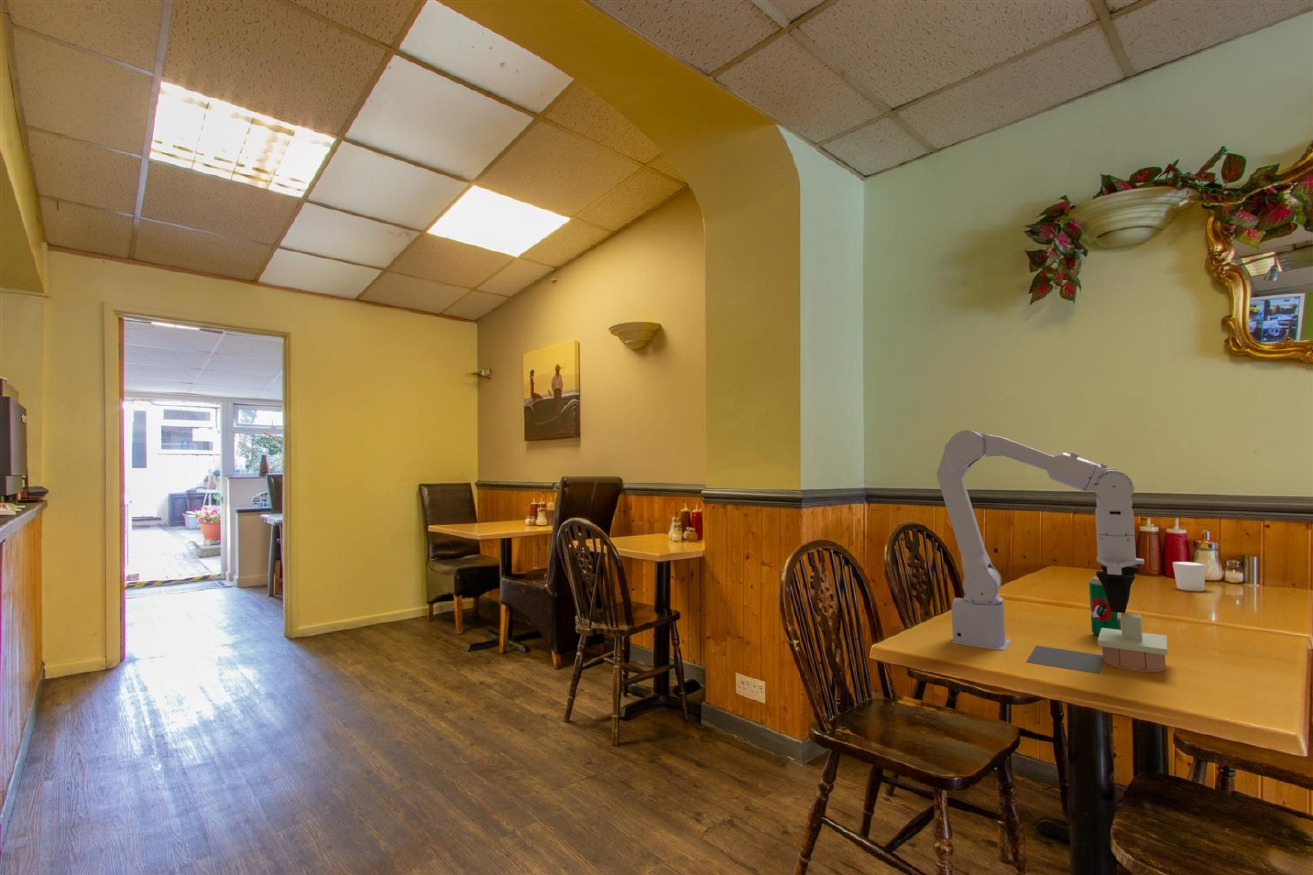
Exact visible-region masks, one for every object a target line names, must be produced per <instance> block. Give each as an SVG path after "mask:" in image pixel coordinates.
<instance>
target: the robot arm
mask: <svg viewBox="0 0 1313 875" xmlns="http://www.w3.org/2000/svg"><path fill="white" fill-rule="evenodd" d="M984 456H985V457H986V458H989V457H1000V456H1001V457H1006V458H1009V459H1012V460H1015V461H1018V462H1021V463H1024V464H1026V465H1029V466H1033V467H1035V468H1039V469H1042V470H1045V471H1046V472H1047V475H1048V477H1049V478H1050V480H1052V481H1054V482H1057V483H1060V484H1063V485H1065V486H1068V487H1071V488H1073V489H1077V490H1079V491H1082V492H1084V493H1089V492H1094V493H1095V494H1096V496H1095V497H1096V498H1095V500H1096V501H1095V502H1096V508H1095V511H1094V514H1095V531H1096V548H1097V549H1096V551H1097V556H1096V561H1097V563H1100V564H1101V565H1100V568H1101V569H1102V571H1101V570H1097V571H1096V577H1098V579H1099V580H1100V582H1101V584H1102V586H1103V588H1104V591H1105V594H1106V597H1107V601H1108V605H1109V608H1110V610H1111V612H1119V613H1120V614H1121V613H1126V611H1127V606H1128V604H1129V601H1130V597H1131V596H1130V595H1131V587H1132V584H1133V582H1134V580H1135V579H1136V573H1137V571H1138V569H1139V566H1138V565H1144V564H1145V559H1144V558H1138V557H1137V555H1136V550H1137V549H1136V536H1135V534H1136V532H1135V516H1134V510H1133V509H1132V507H1133V500H1132V496H1133V494H1134V492H1135V485H1134V483H1133V481H1132V479H1131V478H1130V477H1129V476H1128V475H1127V474H1126V473H1125V472H1121V471H1119V470H1117V469H1115V468H1107V467H1108V464H1105V463H1103V462H1101V463H1100V464H1099V463H1095V462H1093V461H1090V460H1087V459H1085V458H1082V457H1079V456H1080V454H1079V453H1076V452H1073V451H1072V452H1070V453H1067V452H1061V453H1057V454H1054V455H1052V454H1049V453H1046V452H1043V451H1042V450H1041V451H1040V450H1037V449H1035V448H1032V447H1029V446H1027V445H1025V444H1023V443H1019V442H1017V441H1014V440H1011V439H1009V438H1005V437H1004V436H1003V437H1002V436H997V435H992V434H987V433H981V432H978V431H975V430H969V429H964V430H959V431H958V432H956V433H954V435H953V436H951V438H950V439H949V440H948V442H947V443H946V444H945V445H944V447H943V454H942V457H941V460H940V462H939V464H938V468H937V471H936V478H937V481H938V484H939V487H940V491H941V495H942V497H943V500H944V504H945V507H946V510H947V513H948V517H949V519H950V524H951V527H952V530H953V533H954V536H955V541H956V543H957V546H958V550H959V552H960V556H961V567H962V571H963V576H964V577H963V582H962V589H963V592H964V593H965V594H964V596H963V598H962V597H954V599H953V601H952V604H951V623H952V626H951V628H952V644H956V645H957V644H958V645H963V646H970V647H976V648H982V649H989V650H994V651H1005V650H1006V648H1007V647H1009V645H1010V643H1011V642H1012V640H1011V639H1010V638H1006V626H1005V625H1006V624H1005V623H1006V622H1005V607H1004V599H1003V597H1002V596H1000V593H999V589H1000V588H1001V587H1002V580H1003V579H1002V576H1001V573H999V571H998V570H997V569H996V568H995V566H994V565H993V563H992V561H991V558H990V556H989V554H988V552H987V549H986V547H985V543H984V541H983V537H982V534H981V532H980V527H979V525H978V521H977V518H976V516H975V515H976V514H975V512H974V509H973V506H972V503H971V499H970V496H969V493H968V490H967V486H966V484H965V480H964V477H965V476H966V474H968V471H969V470H971V467H972V466H973V465H974V464H975V463H976V462H978V461H979V460H980V459H981V458H983V457H984Z"/></svg>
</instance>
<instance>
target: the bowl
mask: <svg viewBox="0 0 1313 875" xmlns="http://www.w3.org/2000/svg"><path fill="white" fill-rule="evenodd" d="M1101 648H1102V655H1103V661H1104V662H1105V663H1106V664H1108V665H1110V666H1112V667H1115V668H1119V669H1122V670H1127V671H1133V672H1138V673H1139V672H1140V673H1161V672H1164V671H1165V670H1166V667H1167V666H1166V655H1162V654H1155V653H1147V652H1140V651H1133V650H1126V649H1118V648H1111V647H1104V646H1101Z"/></svg>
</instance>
